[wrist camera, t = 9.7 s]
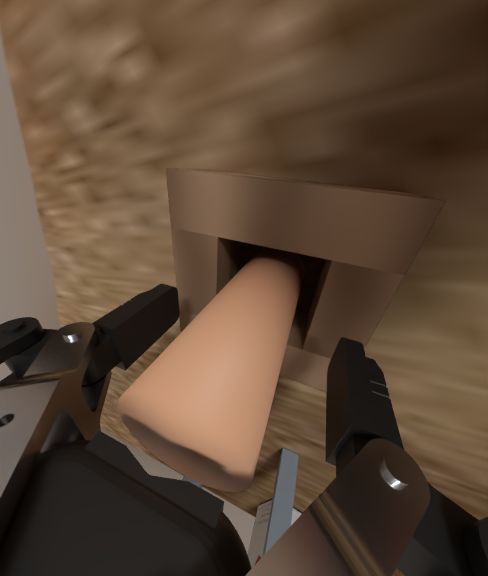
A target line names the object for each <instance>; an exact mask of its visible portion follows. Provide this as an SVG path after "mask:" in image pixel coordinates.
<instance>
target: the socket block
mask: <svg viewBox="0 0 488 576" xmlns="http://www.w3.org/2000/svg"><path fill="white" fill-rule="evenodd" d="M166 176H167V187H168V198H169V208H170V219H171V230H172V241H173V252H174V262H175V273H176V284H177V290H178V299H179V310H180V314H179V317H180V327H181V332H182V331H183V330H184V329H185V328H186V327H187V326H188V325H189V324H190V323H191V322H192V321H193V319H194V318H195V317H196V316H197V315H198V314H199V313H200V312H201V311H202V310H203V309H204V308H205V307H206V306H207V305H208V304H209V303H210V301H211V300H212V299H213V298H214V297H215V296H216V295H217V294H218V293H219V292H220V291H221V290H222V289H223V288H224V287H225V286H226V285H227V283H228V282H229V281H230V280H231V279H232V278H233V277H234V276H235V275H236V274H237V273H238V272H239V266H240V254H241V242H245V243H250V244H255V245H260V246H264V247H269V248H274V249H279V250H284V251H289V252H294V253H299V254H303V255H308V256H313V257H318V258H323V259H325V262H324V265H323V268H322V271H321V275H320V278H319V281H318V284H317V287H316V290H315V294H314V297H313V300H312V303H311V306H310V310H309V313H308V314H307V313H303V312H300V311H296V310H295V314H294V318H293V322H292V326H291V330H290V334H289V338H288V342H287V346H286V350H285V354H284V357H283V361H282V365H281V369H280V373H279V375H280V376H283V377H285V378H288V379H291V380H294V381H296V382H299V383H302V384H305V385H307V386H310V387H313V388H315V389H318V390H321V391H324V392H326V393H327V370H328V366H329V363H330V360H331V358H332V356H333V353H334V351H335V349H336V347H337V345H338V342H339V340H340V338H341V337H345V338H348V339H351V340H355V341H358V342H361V343H362V344H363V347H364V348H365V346H366V345H367V343H368V341H369V339H370V337H371V336H372V334H373V332H374V330H375V328H376V327H377V325H378V323H379V321H380V319H381V318H382V316H383V314H384V312H385V310H386V308H387V307H388V305H389V303H390V301H391V299H392V298H393V296H394V294H395V292H396V290H397V289H398V287H399V285H400V283H401V281H402V280H403V278H404V276H405V274H406V272H407V271H408V269H409V267H410V265H411V263H412V262H413V260H414V258H415V256H416V254H417V252H418V251H419V249H420V247H421V245H422V243H423V242H424V240H425V238H426V236H427V234H428V233H429V231H430V229H431V227H432V225H433V224H434V222H435V220H436V218H437V216H438V215H439V213H440V211H441V209H442V207H443V205H444V204H445V202H446V201H443V200H439V199H434V198H430V197H425V196H421V195H416V194H412V193H405V192H396V191H388V190H379V189H370V188H361V187H352V186H344V185H335V184H326V183H317V182H309V181H300V180H291V179H282V178H274V177H265V176H256V175H247V174H239V173H230V172H221V171H212V170H201V169H179V168H166Z"/></svg>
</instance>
